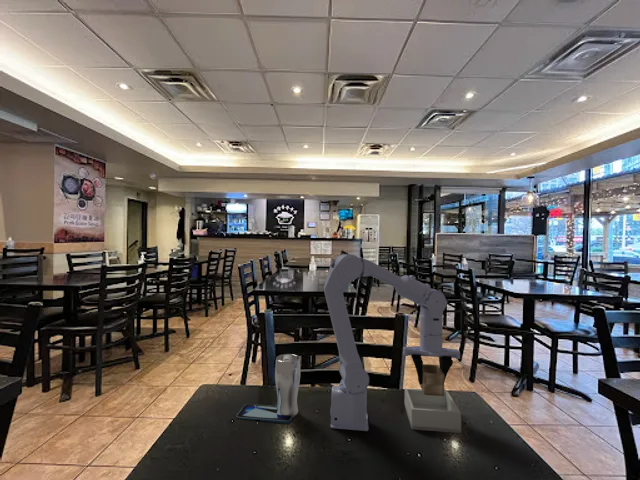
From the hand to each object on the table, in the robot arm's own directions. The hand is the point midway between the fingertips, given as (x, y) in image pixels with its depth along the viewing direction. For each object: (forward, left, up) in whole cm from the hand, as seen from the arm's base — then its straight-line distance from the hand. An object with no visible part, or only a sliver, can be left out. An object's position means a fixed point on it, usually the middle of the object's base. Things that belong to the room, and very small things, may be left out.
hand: (430, 383), depth 85 cm
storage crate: (0, 0, -9) cm, 9 cm away
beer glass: (-39, -3, -10) cm, 40 cm away
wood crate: (0, 0, -2) cm, 2 cm away
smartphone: (-44, -4, -10) cm, 46 cm away
